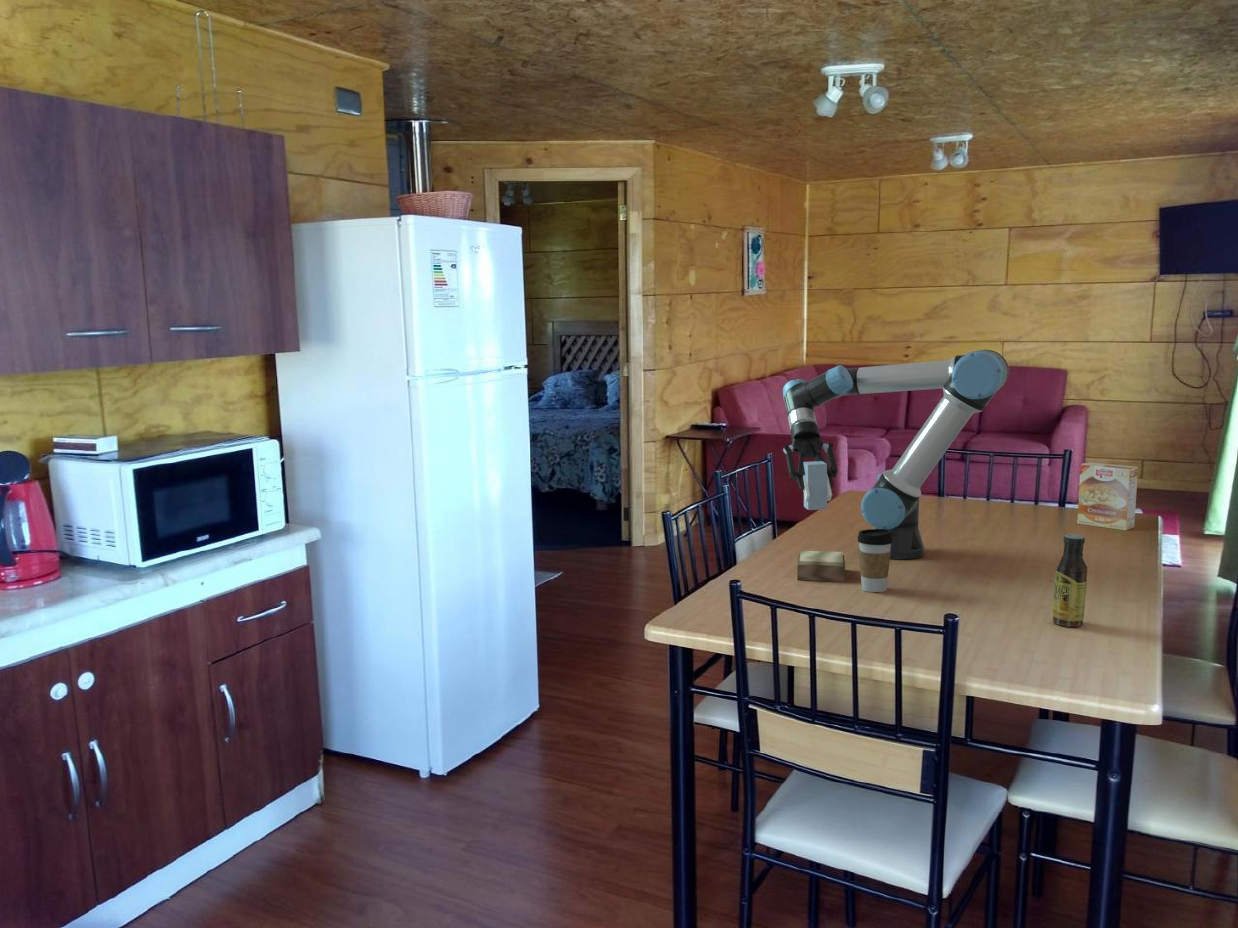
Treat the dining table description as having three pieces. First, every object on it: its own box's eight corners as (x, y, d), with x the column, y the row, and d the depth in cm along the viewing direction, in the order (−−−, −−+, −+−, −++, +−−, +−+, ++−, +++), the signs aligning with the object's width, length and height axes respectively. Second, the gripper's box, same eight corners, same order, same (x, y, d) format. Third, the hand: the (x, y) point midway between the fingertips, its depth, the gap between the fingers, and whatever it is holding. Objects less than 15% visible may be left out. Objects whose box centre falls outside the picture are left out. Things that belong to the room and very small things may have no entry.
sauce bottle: (1046, 620, 207) (1050, 532, 204) (1073, 618, 207) (1077, 531, 204) (1062, 629, 200) (1067, 539, 197) (1090, 628, 201) (1095, 538, 198)
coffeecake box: (1076, 524, 300) (1079, 464, 297) (1085, 520, 304) (1088, 461, 301) (1126, 531, 289) (1130, 468, 286) (1134, 527, 293) (1138, 466, 290)
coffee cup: (893, 594, 228) (894, 535, 225) (857, 593, 229) (858, 534, 227) (890, 585, 236) (891, 527, 234) (855, 584, 238) (856, 526, 235)
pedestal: (843, 569, 252) (844, 551, 251) (844, 581, 240) (845, 562, 239) (798, 567, 254) (798, 550, 253) (797, 579, 243) (797, 561, 242)
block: (822, 505, 248) (822, 461, 247) (827, 509, 244) (826, 463, 242) (803, 506, 248) (803, 462, 247) (808, 510, 243) (807, 464, 242)
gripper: (834, 435, 259) (850, 504, 245) (769, 438, 258) (782, 507, 245) (839, 418, 253) (856, 488, 239) (772, 421, 252) (786, 491, 239)
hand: (818, 498), depth 242 cm, fingers closed on block, 5 cm apart
